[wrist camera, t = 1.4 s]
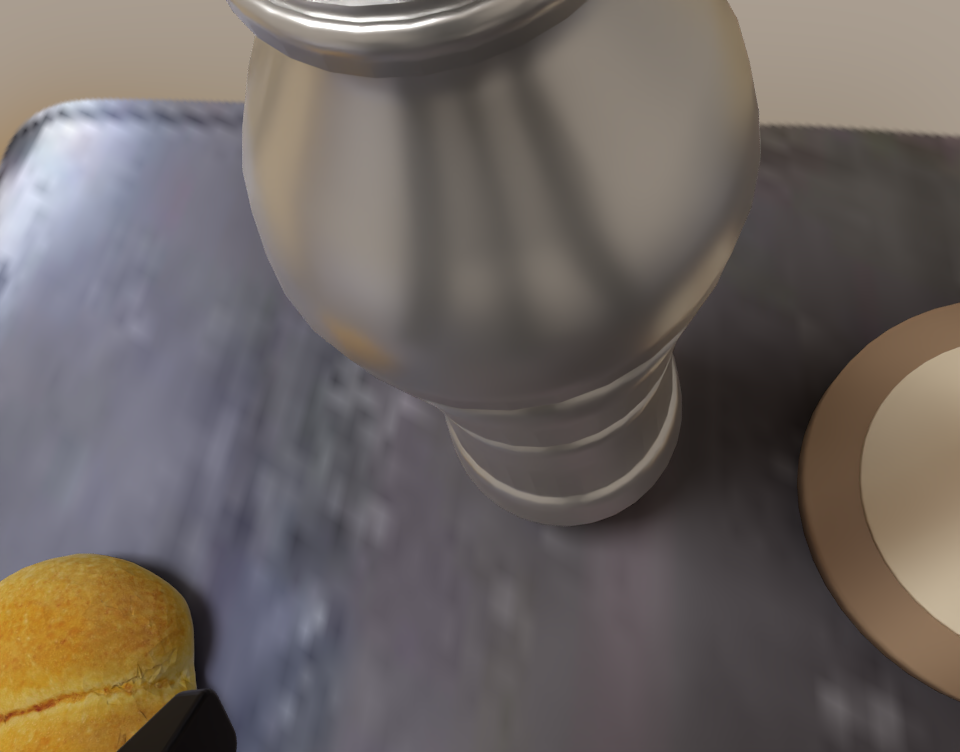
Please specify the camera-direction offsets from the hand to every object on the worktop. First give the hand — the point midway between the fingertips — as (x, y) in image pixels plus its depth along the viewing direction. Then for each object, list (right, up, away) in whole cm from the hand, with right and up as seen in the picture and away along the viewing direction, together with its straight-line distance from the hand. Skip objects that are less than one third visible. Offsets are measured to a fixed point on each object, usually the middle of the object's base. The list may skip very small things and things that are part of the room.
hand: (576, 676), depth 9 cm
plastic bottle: (+2, +2, +14) cm, 15 cm away
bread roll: (-13, -7, +15) cm, 21 cm away
